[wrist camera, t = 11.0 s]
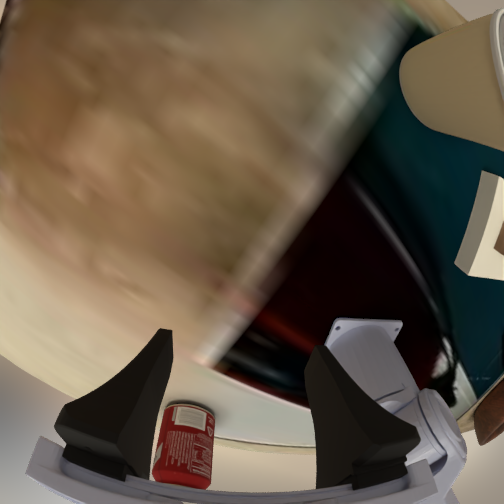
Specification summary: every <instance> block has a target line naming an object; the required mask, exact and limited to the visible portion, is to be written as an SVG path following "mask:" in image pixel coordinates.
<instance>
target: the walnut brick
mask: <svg viewBox="0 0 504 504" xmlns="http://www.w3.org/2000/svg"><path fill="white" fill-rule="evenodd" d="M493 249H495V250H496V251H498V252H499V253H500V254H502V255H503V256H504V222H503V225H502V228H501V230H500V233H499V236H498V238H497V241H496V243H495V246H494V248H493Z"/></svg>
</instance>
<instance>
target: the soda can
mask: <svg viewBox="0 0 504 504" xmlns="http://www.w3.org/2000/svg"><path fill="white" fill-rule="evenodd" d="M214 428H215V418H214V416H213V415H212V414H211V413H210V412H209V411H207V410H205V409H203V408H201V407H199V406H196V405H192V404H174V405H170V406H168V407H167V408H166V409H165V410H164V414H163V419H162V423H161V428H160V433H159V438H158V443H157V448H156V453H155V458H154V463H153V469H152V475H153V477H154V479H155V481H156V482H160V483H165V484H170V485H175V486H181V487H188V488H195V489H203V490H206V488H208V486H209V485H210V484H211V473H212V457H213V442H214Z"/></svg>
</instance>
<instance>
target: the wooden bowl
mask: <svg viewBox="0 0 504 504" xmlns="http://www.w3.org/2000/svg"><path fill="white" fill-rule="evenodd" d="M474 427H475V432H476V435H477V439H478V442H479V445H484V444H486V443H488V442H489V441H491V440H493V439H494V438H496V437H497V436H498V435H499V434H501V433H502V432H503V431H504V380H502V381H501V382H500V383H499V384H498V385H497V386H496V387H495V388H494V390H493V391H492V392H491V393H490V394H489V395H488V396H487V397H486V398H485V399H484V400H483V402H482V403H481V404H480V405H479V407H478V408H477V410H476V412H475V416H474Z"/></svg>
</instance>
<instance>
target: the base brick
mask: <svg viewBox="0 0 504 504" xmlns="http://www.w3.org/2000/svg"><path fill="white" fill-rule="evenodd" d="M503 222H504V179H503V178H501V177H499V176H497V175H494V174H491V173H488V172H485V171H482V174H481V178H480V183H479V187H478V191H477V195H476V199H475V203H474V206H473V210H472V213H471V217H470V220H469V223H468V226H467V229H466V232H465V235H464V238H463V241H462V244H461V247H460V250H459V252H458V255H457V257H456V260H455V263H454V264H455V265H456V266H458V267H459V268H460V269H461V270H462V271H464V272H465V273H466V274H467V275H469V276H477V277H484V278H491V279H498V280H504V256H503V255H502V254H500V253H499V252H498V251H496V250H495V249H493V248H494V246H495V243H496V241H497V238H498V236H499V233H500V230H501V228H502V225H503Z"/></svg>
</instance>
